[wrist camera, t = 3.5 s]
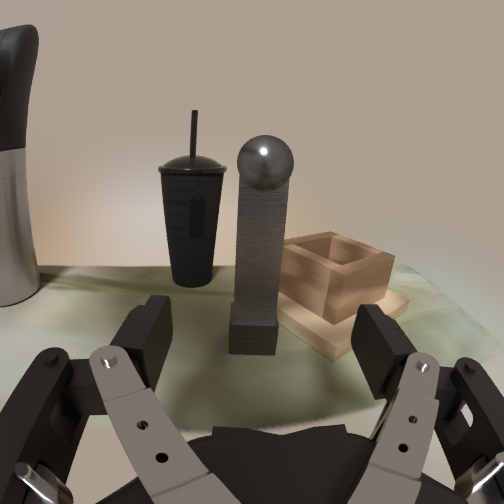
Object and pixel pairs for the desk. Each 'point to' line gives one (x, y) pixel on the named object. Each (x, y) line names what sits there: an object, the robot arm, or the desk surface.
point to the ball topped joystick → (259, 244)
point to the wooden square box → (332, 289)
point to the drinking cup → (191, 212)
